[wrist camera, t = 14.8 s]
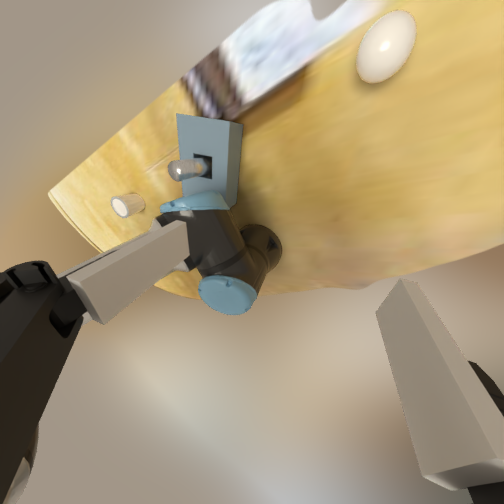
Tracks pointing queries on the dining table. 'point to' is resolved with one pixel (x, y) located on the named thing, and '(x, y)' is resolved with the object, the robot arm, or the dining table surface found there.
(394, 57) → the lightbulb
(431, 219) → the dining table surface
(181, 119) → the hole block
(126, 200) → the shot glass
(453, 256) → the dining table surface
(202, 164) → the tall pin
